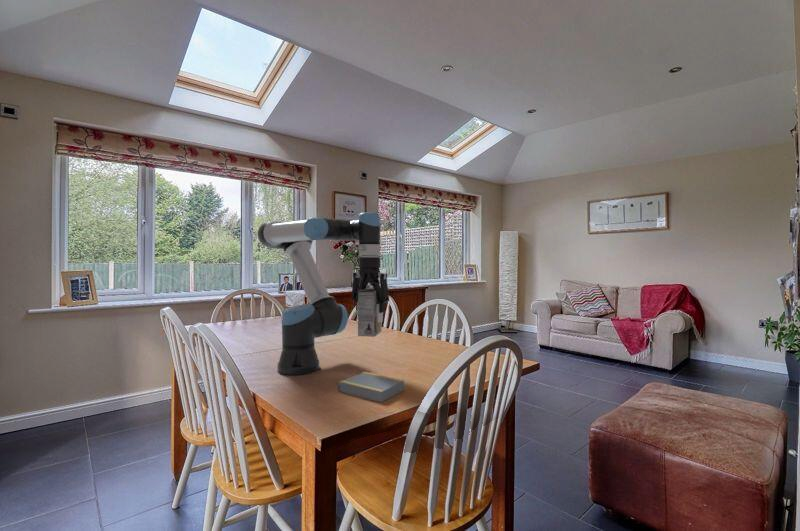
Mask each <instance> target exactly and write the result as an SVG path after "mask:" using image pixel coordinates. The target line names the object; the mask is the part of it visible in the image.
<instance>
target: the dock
mask: <svg viewBox="0 0 800 531" xmlns="http://www.w3.org/2000/svg"><path fill="white" fill-rule="evenodd" d="M337 391H338V392H341V393H345V394H348V395H352V396H356V397H358V398H363V399H367V400H371V401H375V402H379V403H383V402H385V401H386V400H389V399H390V398H393V397H394V396H396V395H398V394H399V393H401V392H403V391H405V381H404V380H403V379H399V378H394V377H389V376H387V375H386V376H385V375H381V374H376V373H371V372H366V371H363V372H361V373H359V374H355V375H353V376H351V377H349V378H345V379H344V380H341V381H339V382H337Z"/></svg>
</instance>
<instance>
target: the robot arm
mask: <svg viewBox="0 0 800 531" xmlns="http://www.w3.org/2000/svg"><path fill="white" fill-rule="evenodd" d="M381 225H382V224H381V216H380V214H379V213H377V212H370V211H369V212H360V213H359V214H358V218H357V219H343V218H342V219H339V218H328V217H321V216H316V217H315V216H313V217H309V218H307V219H304V220H302V219H301V220H296V221H280V220H279V221H277V220H273V221H272V220H271V221H270V220H269V221H266V222H264V223H262V224H261V225H260V226H259V228H258V230H257V238H258V241H259V242H260V243H261V244H262V245H263V246H264V247H266V248H269V249H273V250H274V249H275V250H277V249H278V250H279V249H280V250H281V249H282V250H283V252H284V254H285V256H286V257H288V258H290V260H291V262H292V264H293V268H294V269H295V272H296V274H297V277H298V280H299V281H300V283H301V286H302V289H303V292H304V294H305V296H306V299H307V302H308V304H307V303H306V304H298V305H297V304H296V305H293V306H289V307H286V308H284V310H283V312H282V314H281V315H282V316H281V336H282V337H281V339H282V340H281V341H282V343H281V344H282V345H281V349H282V350H281V352H280V356H279V359H278V362H277V372H278V373H280V374H283V375H291V376H292V375H294V376H296V375H305V374H309V373H311V374H312V373H313V372H316V371H318V370H319V369H320V359H319V358H318V353H317V351H316V348H315V339H316V338H322V337H328V336H335V335H336V334H340V333H342V332H343V331H344V330H345V329H346V327H347V324H348V320H349V314H348V311H347V308H346V307H345V306H344V305H343V304H341V303H337V301H336V298H335V297H334V296H332V295H330V294H329V292H328V290H327V287H326V285H325V283H324V280H323V278H322V275H321V273H320V271H319V268H318V267H317V264H316V262H315V260H314V257H313V255H312V253H311V249H312V245H313V242H314V241H322V240H323V241H326V240H327V241H342V242H350V241H358V256H360V257H359V258H358V268H359V272H353V273H352V277H353V281H352V287H351V288H352V289H351V296H350V299H351V300H354V301H355V311H356V313H357V314H356V316H357V318H356V320H357V321H358V290H361V289H366V288H367V286H368V285H369V284H370V285H371V287H372V288H374V290H376V297H377V300H378V303H377V304H376V322H377V323H379V322H381V323H382V322H383V321H384V320H383V319H384V316H383V315H384V314H383V313H385V303H387V302H389V301H390V294H389V288H388V281H387V279H388V273H385V272H381V270H380V268H381V258H380V257H379V256H381Z"/></svg>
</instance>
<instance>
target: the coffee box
mask: <svg viewBox="0 0 800 531" xmlns="http://www.w3.org/2000/svg"><path fill="white" fill-rule="evenodd" d="M377 303H378V300H377V297H376V290H374V288H373V287H366V289H361V290H358V320H357V336H358V337H369V338H370V337H372V338H374V337H375V338H376V336H378V335H379V334H380V333H381V332H382V322H379V323H377V322H376V304H377Z"/></svg>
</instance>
